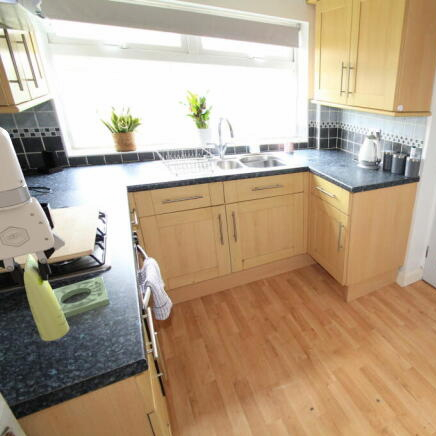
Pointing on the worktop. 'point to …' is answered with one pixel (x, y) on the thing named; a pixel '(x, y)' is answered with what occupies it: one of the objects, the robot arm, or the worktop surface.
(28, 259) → the yellow-green tapered cone
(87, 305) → the base pad
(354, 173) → the worktop surface
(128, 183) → the worktop surface
